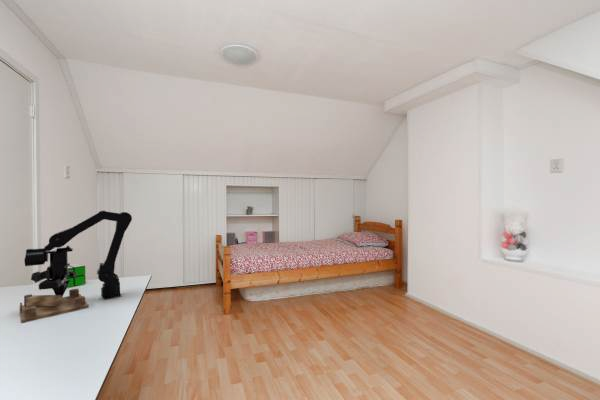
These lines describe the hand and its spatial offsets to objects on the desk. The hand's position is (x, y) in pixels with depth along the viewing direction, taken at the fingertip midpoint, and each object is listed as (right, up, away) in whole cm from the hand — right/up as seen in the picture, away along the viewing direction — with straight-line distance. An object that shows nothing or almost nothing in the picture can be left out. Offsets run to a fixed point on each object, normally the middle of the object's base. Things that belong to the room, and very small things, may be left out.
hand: (59, 299), depth 121 cm
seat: (0, -3, -3) cm, 4 cm away
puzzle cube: (-19, -3, +30) cm, 36 cm away
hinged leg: (-4, -1, -3) cm, 6 cm away
